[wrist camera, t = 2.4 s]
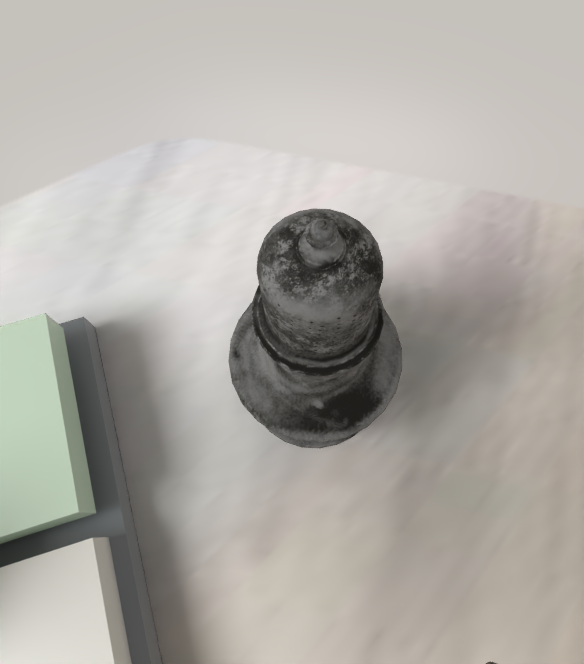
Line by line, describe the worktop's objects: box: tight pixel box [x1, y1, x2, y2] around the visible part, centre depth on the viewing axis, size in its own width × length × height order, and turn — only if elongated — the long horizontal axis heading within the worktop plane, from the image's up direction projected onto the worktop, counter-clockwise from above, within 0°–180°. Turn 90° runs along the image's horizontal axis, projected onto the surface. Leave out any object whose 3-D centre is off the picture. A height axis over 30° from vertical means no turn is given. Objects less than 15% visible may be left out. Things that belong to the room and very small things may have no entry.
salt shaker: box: [229, 209, 402, 448], centre depth 16 cm, size 6×6×12 cm
